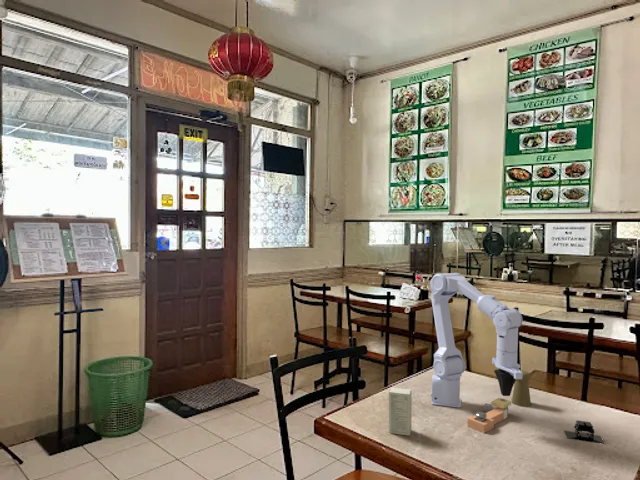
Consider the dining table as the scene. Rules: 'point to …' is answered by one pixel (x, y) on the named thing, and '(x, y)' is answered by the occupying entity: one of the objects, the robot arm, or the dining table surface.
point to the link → (488, 420)
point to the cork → (522, 391)
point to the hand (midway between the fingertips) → (505, 395)
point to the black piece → (584, 436)
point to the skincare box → (400, 411)
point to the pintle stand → (488, 407)
